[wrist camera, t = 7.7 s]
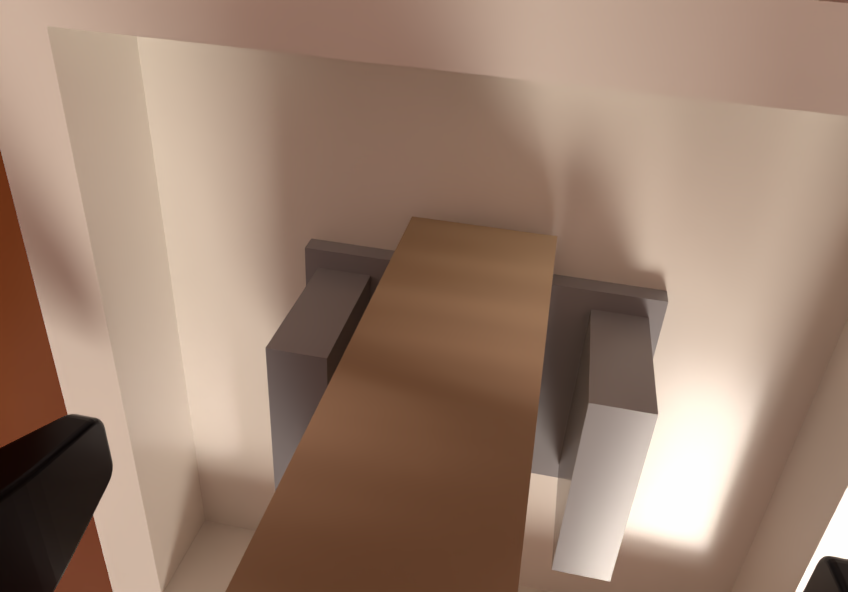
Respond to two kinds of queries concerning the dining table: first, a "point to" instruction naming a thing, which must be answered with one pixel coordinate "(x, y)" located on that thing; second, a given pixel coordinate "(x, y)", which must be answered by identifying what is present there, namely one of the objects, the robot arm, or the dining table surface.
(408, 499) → the tan cuboid brick
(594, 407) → the dish
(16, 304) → the dining table surface
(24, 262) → the dining table surface
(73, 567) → the dining table surface
